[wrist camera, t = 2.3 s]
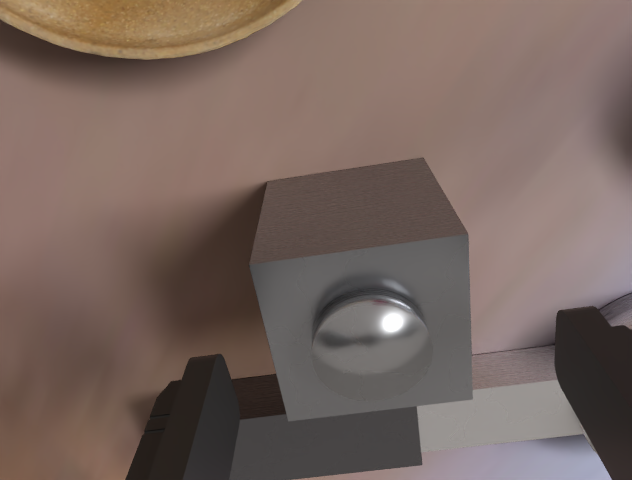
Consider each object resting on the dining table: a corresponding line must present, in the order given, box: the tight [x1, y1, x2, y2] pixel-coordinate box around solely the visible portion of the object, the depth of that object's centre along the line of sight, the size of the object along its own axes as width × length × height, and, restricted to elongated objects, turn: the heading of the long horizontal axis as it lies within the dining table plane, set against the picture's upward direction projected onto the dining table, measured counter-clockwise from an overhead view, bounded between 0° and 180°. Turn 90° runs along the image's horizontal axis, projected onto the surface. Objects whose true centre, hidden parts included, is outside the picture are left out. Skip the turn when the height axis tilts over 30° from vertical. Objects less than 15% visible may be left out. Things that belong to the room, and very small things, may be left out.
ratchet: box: [229, 293, 632, 480], centre depth 20 cm, size 25×8×6 cm, turn 99°
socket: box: [249, 158, 473, 421], centre depth 17 cm, size 6×6×7 cm
